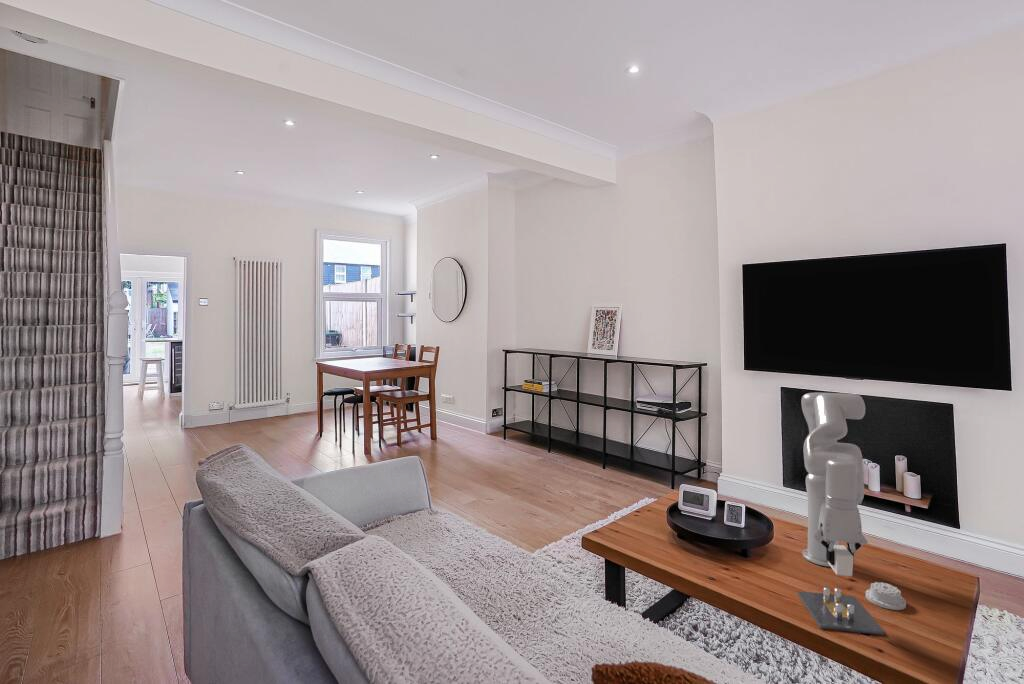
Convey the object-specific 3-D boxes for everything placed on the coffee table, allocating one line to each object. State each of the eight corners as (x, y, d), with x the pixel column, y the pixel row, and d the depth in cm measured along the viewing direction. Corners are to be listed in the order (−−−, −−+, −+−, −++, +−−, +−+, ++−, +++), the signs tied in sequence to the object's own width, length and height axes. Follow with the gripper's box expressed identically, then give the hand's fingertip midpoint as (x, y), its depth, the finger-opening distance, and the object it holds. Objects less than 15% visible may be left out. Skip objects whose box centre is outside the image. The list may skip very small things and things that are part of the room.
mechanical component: (906, 600, 154) (866, 589, 160) (906, 586, 154) (866, 576, 160) (905, 615, 146) (864, 603, 153) (906, 600, 146) (864, 589, 152)
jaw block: (828, 563, 150) (829, 544, 149) (842, 564, 149) (844, 545, 148) (836, 574, 144) (837, 555, 143) (852, 576, 143) (853, 556, 142)
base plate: (797, 594, 158) (797, 578, 157) (854, 599, 154) (854, 583, 154) (820, 628, 140) (820, 611, 140) (884, 635, 137) (885, 617, 136)
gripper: (866, 499, 148) (865, 560, 148) (804, 496, 151) (803, 555, 152) (879, 508, 140) (878, 572, 141) (814, 505, 144) (813, 567, 144)
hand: (839, 563), depth 146 cm, fingers closed on jaw block, 3 cm apart
